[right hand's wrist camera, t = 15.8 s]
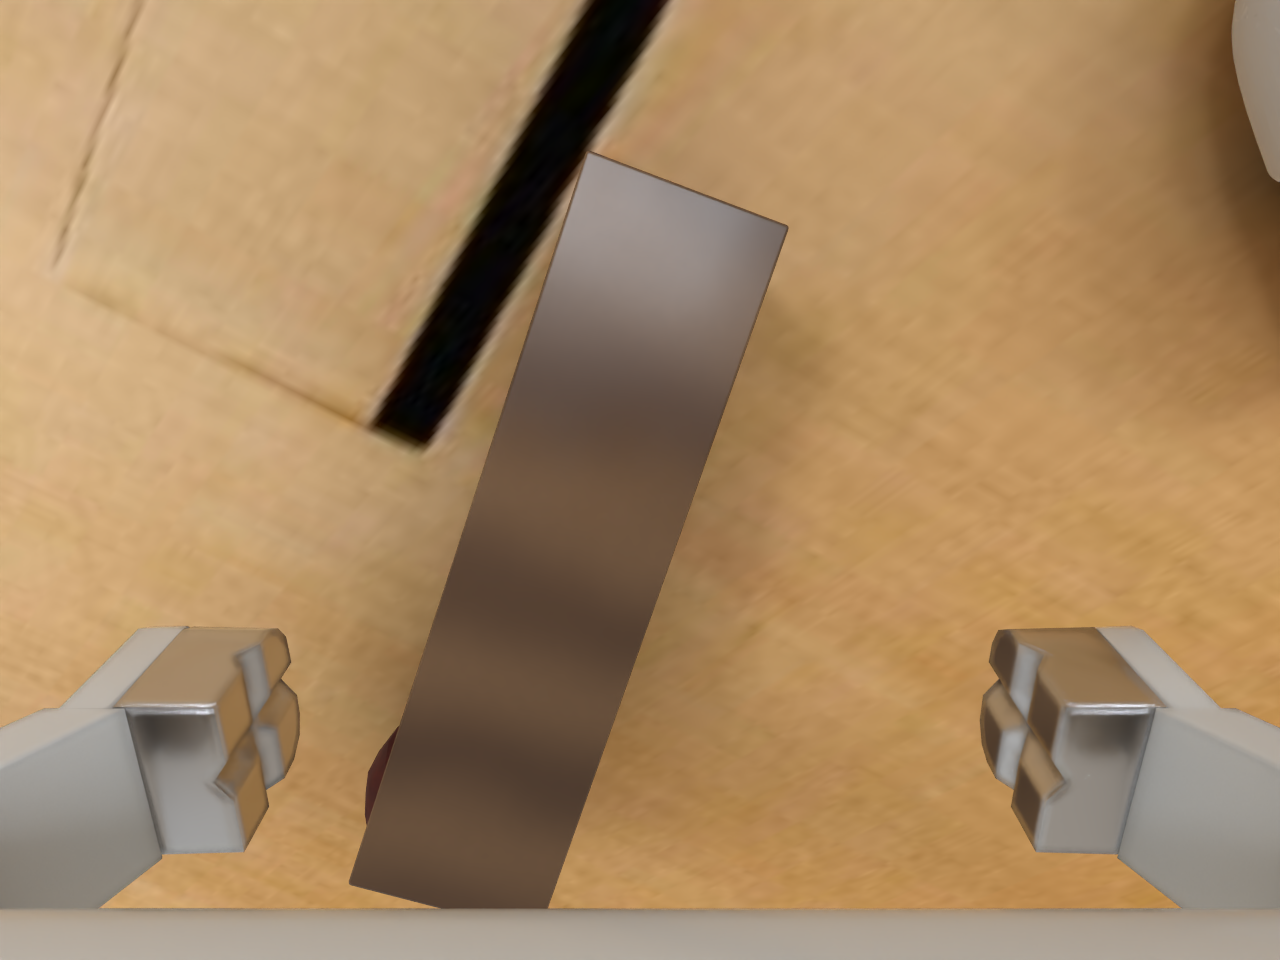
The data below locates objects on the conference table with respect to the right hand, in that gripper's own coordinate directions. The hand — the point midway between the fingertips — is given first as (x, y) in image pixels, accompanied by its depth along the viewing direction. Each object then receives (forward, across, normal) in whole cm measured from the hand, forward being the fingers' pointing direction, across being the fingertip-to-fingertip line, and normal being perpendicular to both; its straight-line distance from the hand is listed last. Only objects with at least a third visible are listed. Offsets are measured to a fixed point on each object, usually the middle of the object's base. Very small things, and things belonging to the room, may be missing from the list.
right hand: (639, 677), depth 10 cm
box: (+23, -3, -8) cm, 24 cm away
